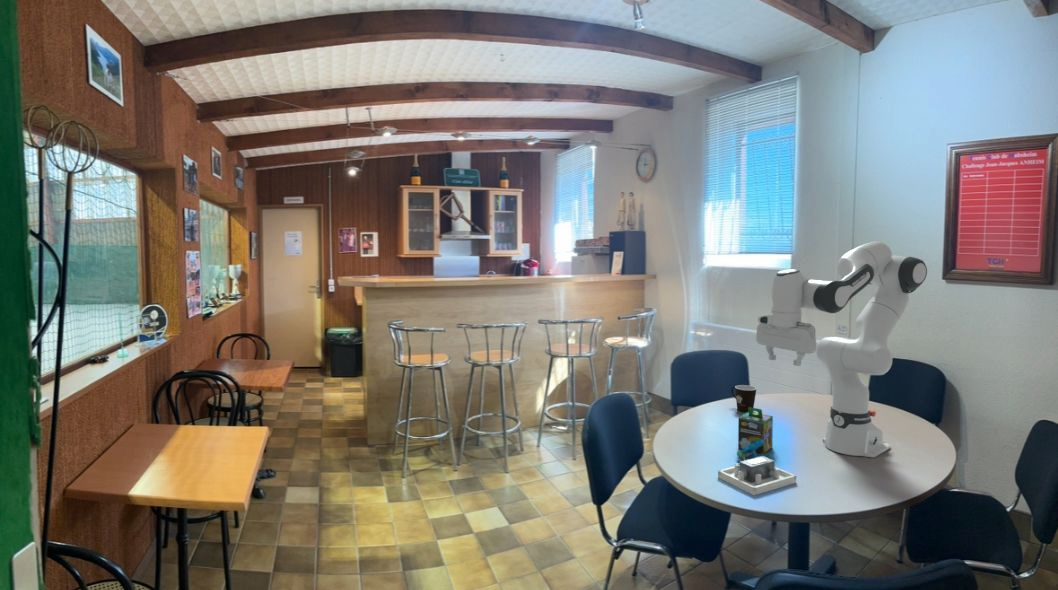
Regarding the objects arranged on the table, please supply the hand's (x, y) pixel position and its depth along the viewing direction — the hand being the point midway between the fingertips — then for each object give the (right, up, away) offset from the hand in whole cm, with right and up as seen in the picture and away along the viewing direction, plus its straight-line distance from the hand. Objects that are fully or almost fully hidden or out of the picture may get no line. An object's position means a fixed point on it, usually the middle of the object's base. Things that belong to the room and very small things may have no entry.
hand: (784, 362), depth 183 cm
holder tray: (-13, -35, -9) cm, 38 cm away
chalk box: (-3, -33, +18) cm, 37 cm away
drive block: (-13, -34, -9) cm, 37 cm away
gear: (-9, -34, +7) cm, 36 cm away
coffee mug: (+11, -28, +62) cm, 69 cm away
